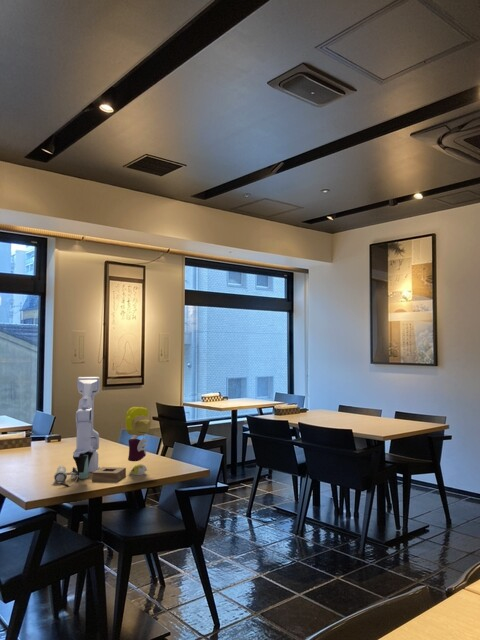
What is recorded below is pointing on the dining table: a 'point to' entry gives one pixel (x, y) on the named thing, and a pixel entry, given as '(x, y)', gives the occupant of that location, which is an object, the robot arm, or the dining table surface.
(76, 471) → the clip-on lamp
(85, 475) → the teal peg
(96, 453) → the robot arm
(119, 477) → the socket block
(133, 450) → the toy
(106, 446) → the dining table surface
